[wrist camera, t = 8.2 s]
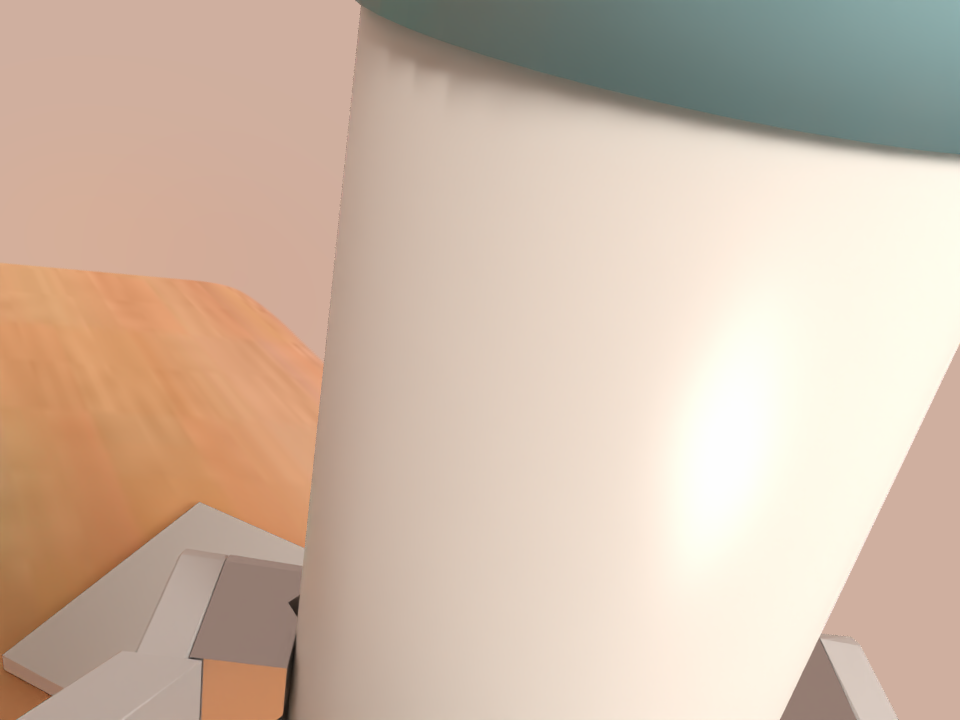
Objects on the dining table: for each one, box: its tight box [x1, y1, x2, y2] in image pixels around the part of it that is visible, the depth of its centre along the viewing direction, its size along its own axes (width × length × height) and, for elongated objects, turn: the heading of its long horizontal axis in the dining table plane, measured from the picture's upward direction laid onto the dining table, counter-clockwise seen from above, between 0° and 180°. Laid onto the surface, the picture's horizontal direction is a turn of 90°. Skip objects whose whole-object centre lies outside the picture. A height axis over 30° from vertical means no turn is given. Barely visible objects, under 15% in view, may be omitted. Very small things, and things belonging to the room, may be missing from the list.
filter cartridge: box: [287, 0, 960, 720], centre depth 10 cm, size 5×5×18 cm
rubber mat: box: [2, 502, 305, 696], centre depth 39 cm, size 12×12×1 cm
